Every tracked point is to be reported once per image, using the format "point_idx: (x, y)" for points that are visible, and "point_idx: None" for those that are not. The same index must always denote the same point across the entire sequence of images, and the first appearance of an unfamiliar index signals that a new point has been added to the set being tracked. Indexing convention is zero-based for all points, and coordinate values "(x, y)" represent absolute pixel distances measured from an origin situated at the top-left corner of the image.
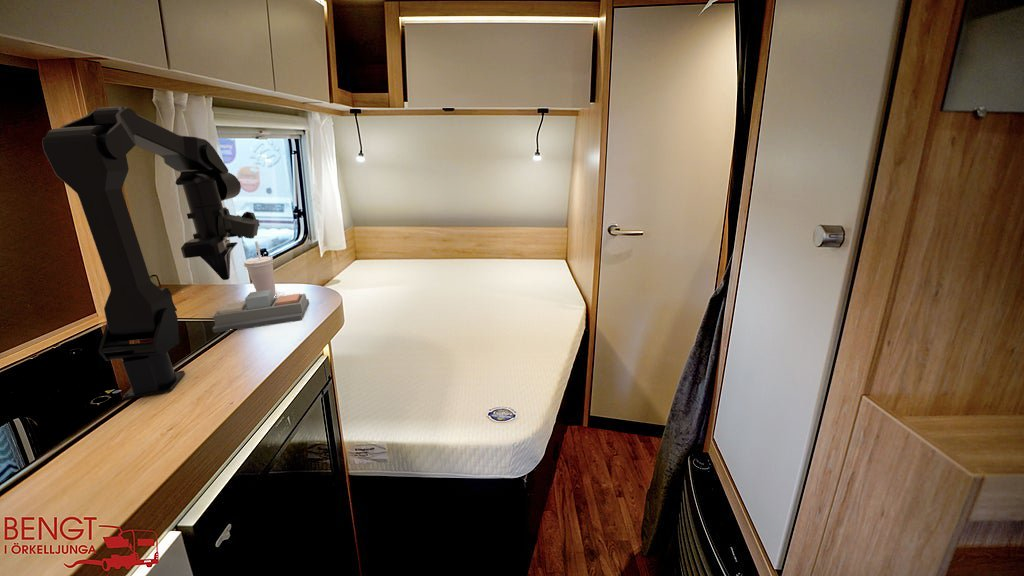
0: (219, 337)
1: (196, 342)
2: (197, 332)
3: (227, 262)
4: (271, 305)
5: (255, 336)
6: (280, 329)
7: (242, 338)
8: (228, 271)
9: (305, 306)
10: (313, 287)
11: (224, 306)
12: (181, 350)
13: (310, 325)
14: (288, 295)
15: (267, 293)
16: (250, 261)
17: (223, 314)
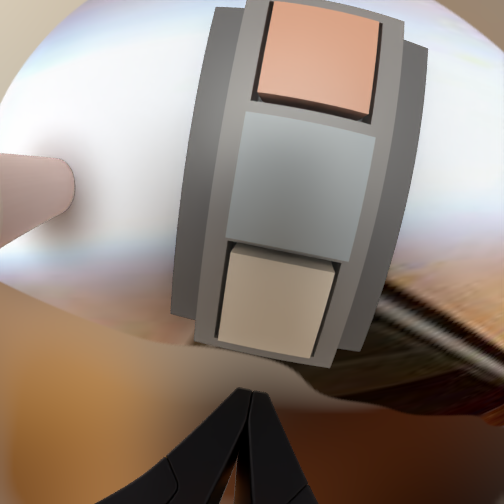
0: (411, 321)
1: (400, 372)
2: (309, 382)
3: (258, 493)
4: None
5: (481, 214)
6: (471, 133)
7: (470, 253)
8: (249, 424)
9: None
10: (45, 43)
11: (258, 341)
12: (427, 392)
13: (480, 48)
14: (271, 48)
15: (324, 135)
16: None
17: (339, 336)
